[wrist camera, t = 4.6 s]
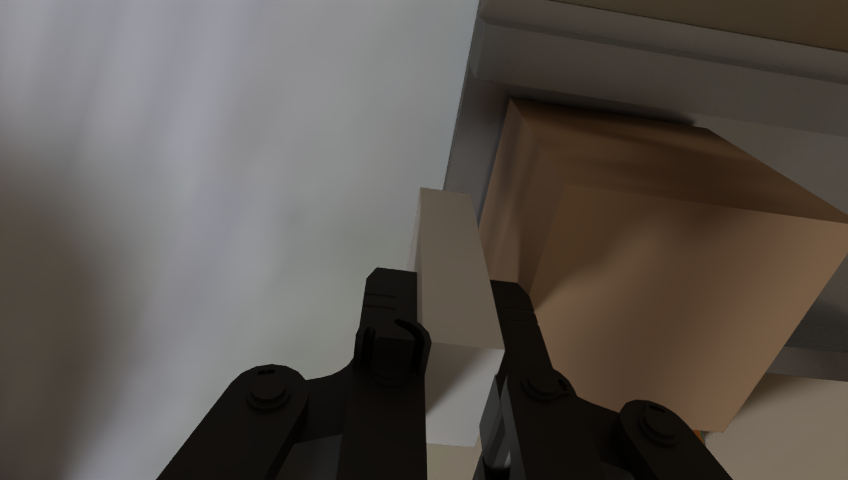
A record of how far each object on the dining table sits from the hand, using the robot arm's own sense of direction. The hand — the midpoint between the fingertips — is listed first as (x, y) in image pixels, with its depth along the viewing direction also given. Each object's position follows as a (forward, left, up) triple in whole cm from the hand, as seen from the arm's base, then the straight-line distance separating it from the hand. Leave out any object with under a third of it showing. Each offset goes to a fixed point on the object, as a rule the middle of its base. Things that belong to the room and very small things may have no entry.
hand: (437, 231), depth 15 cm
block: (+5, 0, -3) cm, 7 cm away
